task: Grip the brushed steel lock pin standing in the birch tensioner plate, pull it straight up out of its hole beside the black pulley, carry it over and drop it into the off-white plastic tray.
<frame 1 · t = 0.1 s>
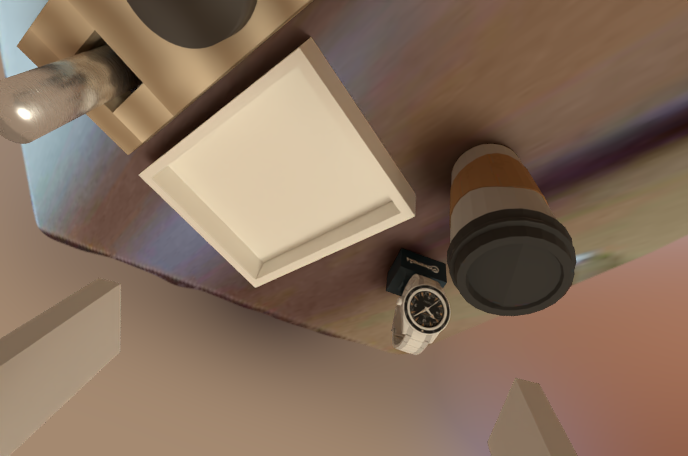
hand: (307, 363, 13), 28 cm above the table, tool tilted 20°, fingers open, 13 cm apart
coffee cup: (484, 170, 38), on the table
lock pin: (131, 62, 37), resting in tensioner plate
watch: (416, 266, 46), on the table
tensioner plate: (176, 15, 34), on the table
tray: (283, 175, 41), on the table
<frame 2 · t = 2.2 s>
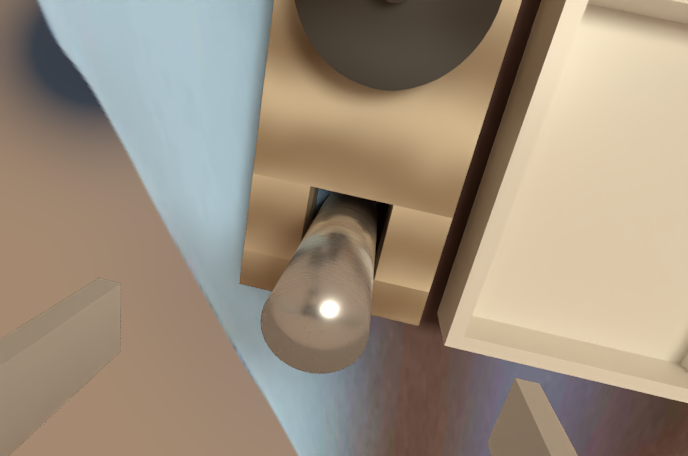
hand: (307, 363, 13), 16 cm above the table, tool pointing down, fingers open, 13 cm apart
lock pin: (349, 215, 27), resting in tensioner plate
tensioner plate: (371, 113, 25), on the table
tray: (621, 201, 25), on the table
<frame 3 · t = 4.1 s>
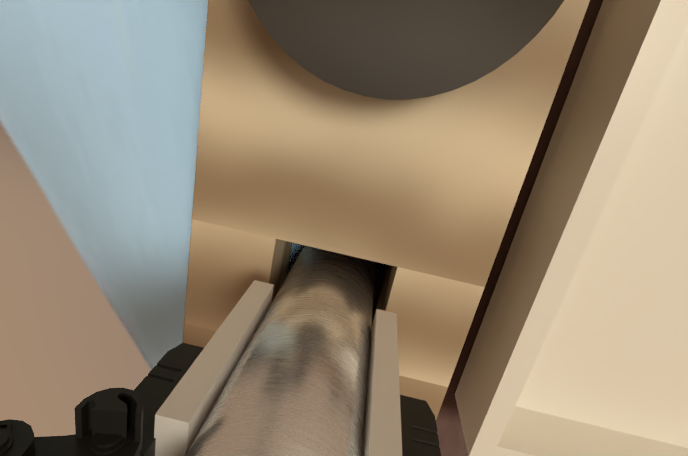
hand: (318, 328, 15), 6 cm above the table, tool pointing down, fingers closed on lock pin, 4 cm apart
lock pin: (336, 267, 20), resting in tensioner plate, touching gripper
tensioner plate: (366, 131, 18), on the table
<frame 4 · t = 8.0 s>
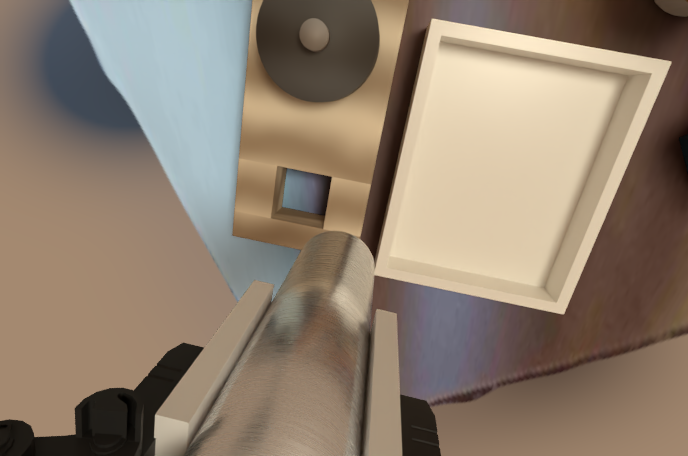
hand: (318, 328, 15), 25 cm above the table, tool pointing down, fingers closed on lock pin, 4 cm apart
lock pin: (336, 267, 20), point 19 cm above the table, touching gripper
tensioner plate: (319, 117, 36), on the table
tray: (492, 172, 36), on the table
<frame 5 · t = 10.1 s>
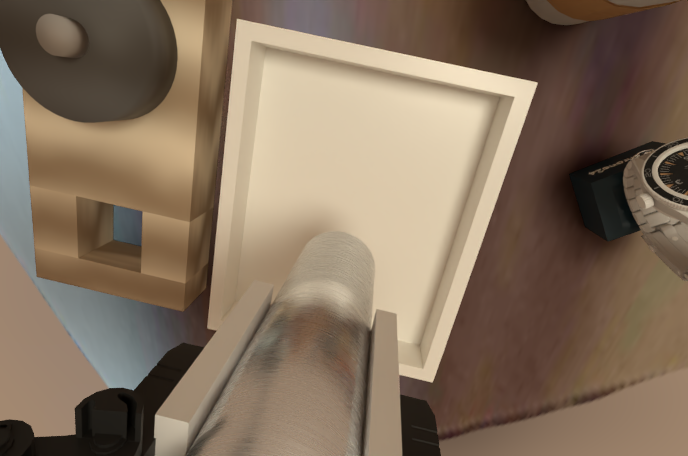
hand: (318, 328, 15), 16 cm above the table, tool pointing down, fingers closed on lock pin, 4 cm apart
lock pin: (336, 267, 20), point 11 cm above the table, touching gripper
watch: (614, 184, 28), on the table
tensioner plate: (143, 135, 30), on the table
tray: (352, 208, 30), on the table
when the fingers open (9 cm above the table, at t = 11.9 s): lock pin drops 2 cm, resting on tray.
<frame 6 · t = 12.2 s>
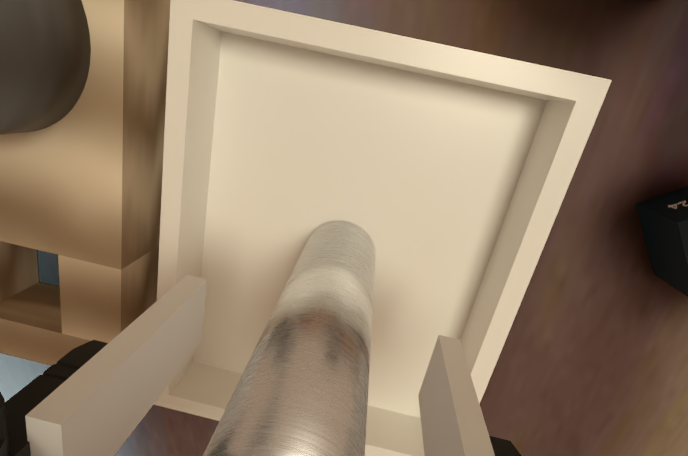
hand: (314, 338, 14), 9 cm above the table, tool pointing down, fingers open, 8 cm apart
lock pin: (340, 253, 22), point 1 cm above the table, touching tray
tensioner plate: (69, 150, 23), on the table
tray: (343, 246, 23), on the table
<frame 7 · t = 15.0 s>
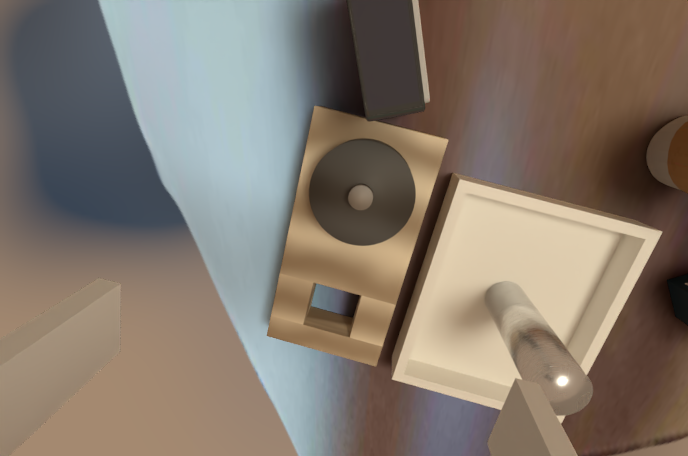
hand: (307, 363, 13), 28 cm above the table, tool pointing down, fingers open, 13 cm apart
black upright block: (388, 53, 36), on the table
coffee cup: (679, 150, 35), on the table
lock pin: (504, 298, 40), point 1 cm above the table, touching tray
tensioner plate: (351, 235, 41), on the table
tray: (502, 294, 41), on the table
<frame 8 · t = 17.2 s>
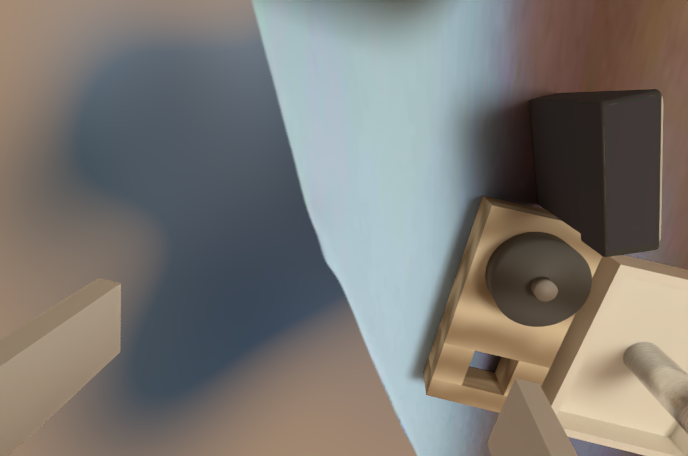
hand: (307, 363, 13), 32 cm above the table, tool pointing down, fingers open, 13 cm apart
black upright block: (548, 150, 40), on the table
lock pin: (641, 356, 45), point 1 cm above the table, touching tray
tensioner plate: (500, 303, 46), on the table
tray: (636, 351, 46), on the table
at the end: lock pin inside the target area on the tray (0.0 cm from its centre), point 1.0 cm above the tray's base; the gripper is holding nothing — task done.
